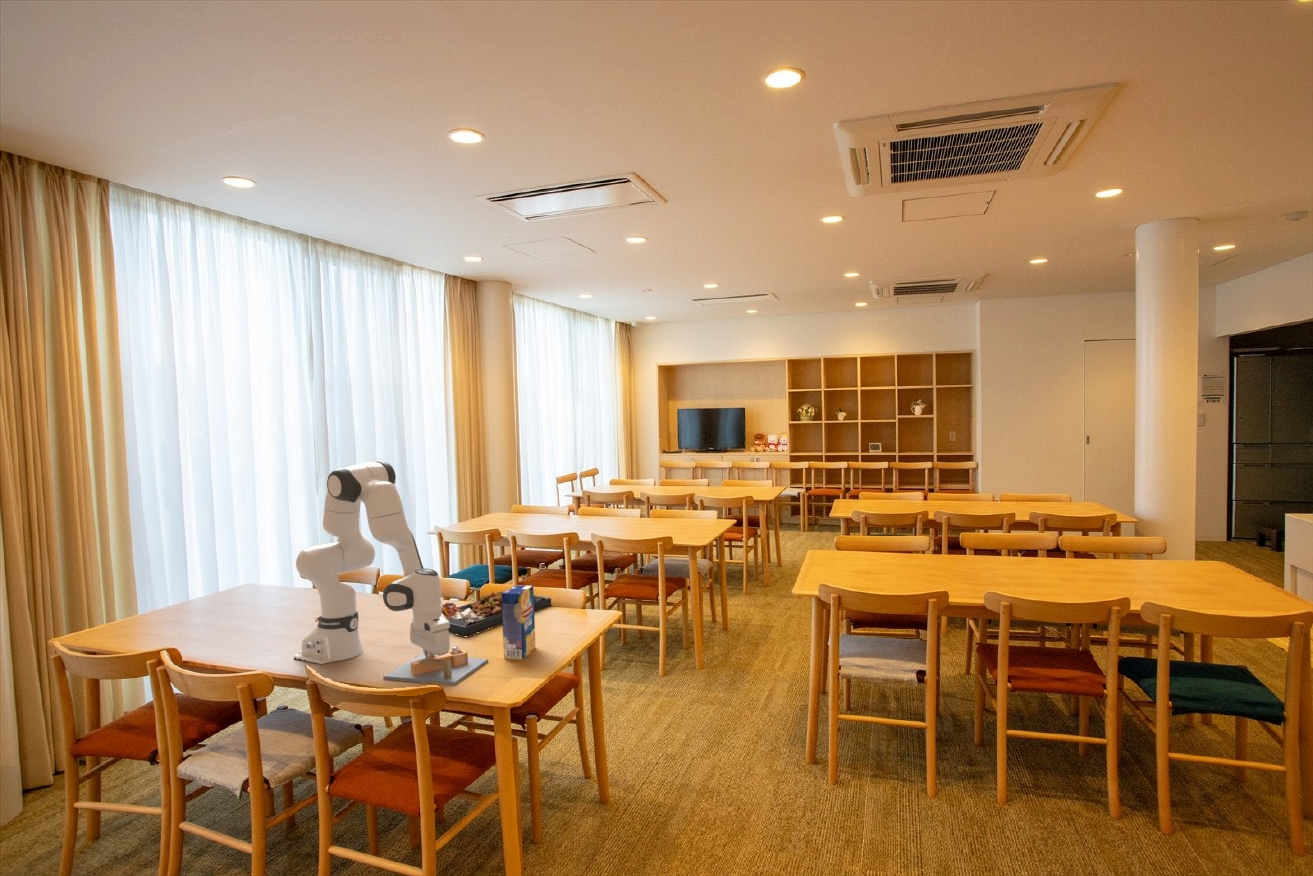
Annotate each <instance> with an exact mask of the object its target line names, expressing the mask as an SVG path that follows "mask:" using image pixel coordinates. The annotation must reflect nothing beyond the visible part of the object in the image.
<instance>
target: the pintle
mask: <svg viewBox="0 0 1313 876" xmlns="http://www.w3.org/2000/svg"><path fill="white" fill-rule="evenodd" d="M458 649H459V646H457V645H453V646H451V651H452V655H456V654H458Z"/></svg>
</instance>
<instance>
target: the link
mask: <svg viewBox="0 0 1313 876" xmlns="http://www.w3.org/2000/svg"><path fill="white" fill-rule="evenodd" d="M468 653H469V652H467V651H466V650H464V649H463V648H458V654H456V655H452V650H449V652H448V653H447V654H444V655H441V656H434V657H430V658H426V659H433V660H446V661H451V666H452V667H454V666H458V665H462V664H466V663H468ZM410 665H411V674H413V675H414V676H415V675H419V674H423V673H426V672H430V671H434V670H438V669H442V668H443V666H435V665H423V664H420V660H418V661H414V662H410Z"/></svg>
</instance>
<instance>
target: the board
mask: <svg viewBox="0 0 1313 876" xmlns="http://www.w3.org/2000/svg"><path fill="white" fill-rule="evenodd" d="M435 656H438V655H436V654H435ZM422 659H425V655H424V653H421V654H419V655H417V656H415V657H414V658H412V659H410V660H409V661H407V662H405V663H403V664H402V665H400V666H398V667H396V668H395V669H393V670H391V671H390V672H388V673H386V674H384V675H383V678H382V679H383V680H388V681H397V682H398V681H400V682H409V683H410V682H413V683H423V684H432V683H438V684H437V685H445V686H456V685H458V684H459V683H461V682H462V681H463V680H465V679H466V678H467V677H468V675H469V676H470V675H472V674H473V673H475V672H476V671H478V670H479V669H480V668H482V667H483V666H484V665H486V664H487V663H488V662H489V658H481V657H468V663H466V664H462V665H458V666H454V667H452V666H451V672H452V676H451V677H450V678H448V679H445V678H444V673H443V668H442V669H438V670H434V671H430V672H426V673H423V674H419V675H415V676H414V675H413V674H411V665H410V662H414V661H418V660H422ZM486 662H487V663H486ZM485 663H486V664H485ZM483 664H484V665H483ZM482 665H483V666H482ZM478 668H479V669H478ZM471 673H472V674H471ZM464 678H465V679H464Z"/></svg>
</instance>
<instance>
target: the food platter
mask: <svg viewBox="0 0 1313 876" xmlns="http://www.w3.org/2000/svg"><path fill="white" fill-rule="evenodd" d="M502 593H503V591H502V590H501V591H498V592H497V593H495V592H491V593H488V594H485V595H484V594H483V595H482V596H481V597H480V598H479V600H477V601H475V602H474V601H473V602H470V603H467V604H465V605H461V606H457V604H456V603H454V602H445V603H444V604H443V602H442V601H440V602H441V606H442V613H443V614H444V616H445V618H446V619H447V620H448V621H449V622H450V628H448V631H449V633H450V632H451V633H450V634H458V635H461V636H460V637H462V636H470V635H472V636H474V635H473V634H475V633H477V632H480V633H482V632H481V631H483V632H485V631H487V630H486V629H488V628H491V627H493V628H496V627H498V626H497V625H499V626H501V625H503V624H502V623H503V618H502ZM551 606H552V598H551V597H545V596H539V595H534V611H536V612H538V611H540V610H539V609H541V610H544V609H546V608H548V607H551ZM537 610H538V611H537ZM500 624H501V625H500ZM495 626H496V627H495ZM491 629H492V628H491ZM484 630H485V631H484ZM488 630H489V629H488ZM475 635H476V634H475ZM470 637H471V636H470Z"/></svg>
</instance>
